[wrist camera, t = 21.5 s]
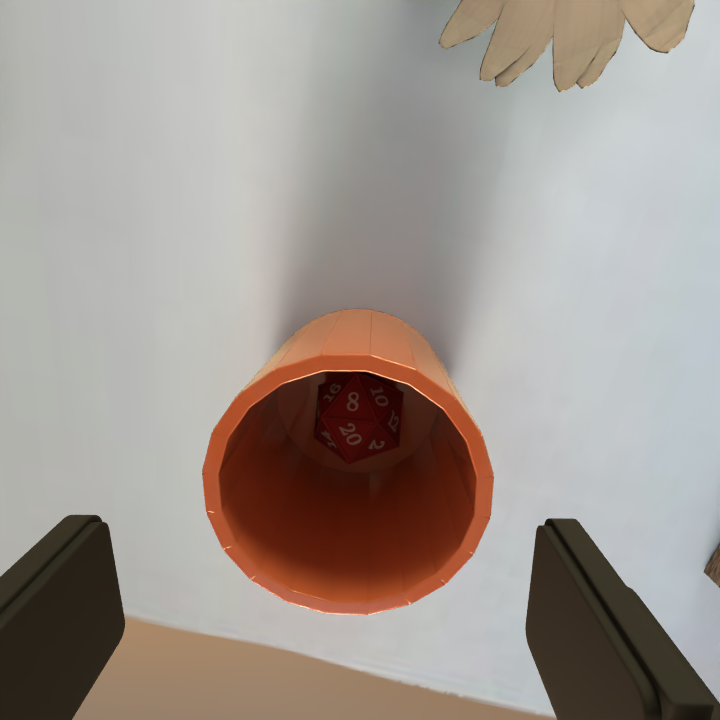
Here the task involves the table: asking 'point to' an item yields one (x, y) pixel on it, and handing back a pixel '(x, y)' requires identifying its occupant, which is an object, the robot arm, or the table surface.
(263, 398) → the cup
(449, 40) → the flower
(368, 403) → the dice
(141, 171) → the table surface
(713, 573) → the picture frame
